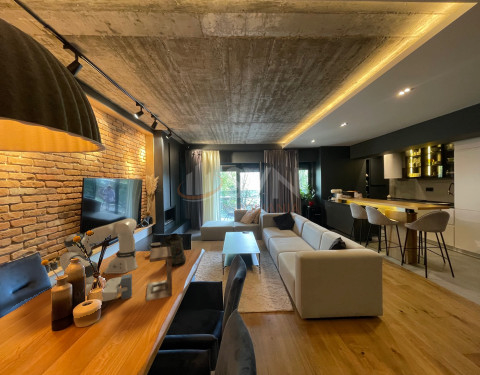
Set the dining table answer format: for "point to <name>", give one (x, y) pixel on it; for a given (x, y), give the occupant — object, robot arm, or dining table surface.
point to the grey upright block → (127, 281)
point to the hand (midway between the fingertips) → (128, 285)
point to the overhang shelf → (164, 287)
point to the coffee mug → (155, 245)
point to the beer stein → (175, 249)
